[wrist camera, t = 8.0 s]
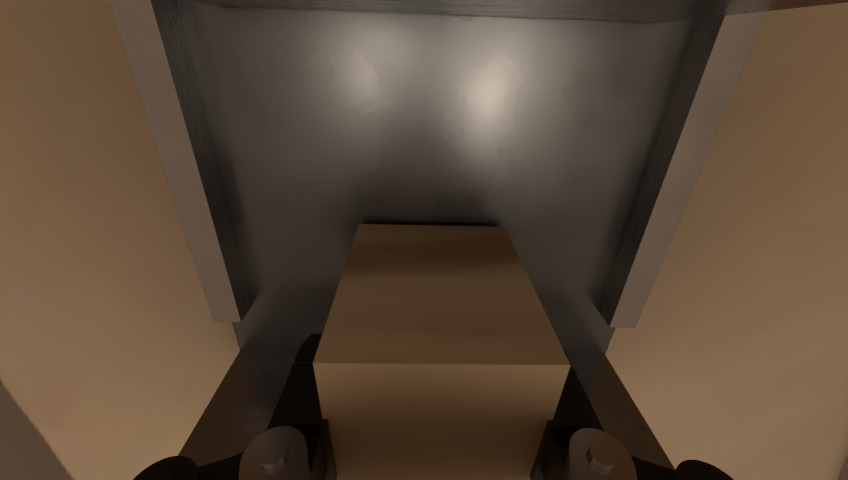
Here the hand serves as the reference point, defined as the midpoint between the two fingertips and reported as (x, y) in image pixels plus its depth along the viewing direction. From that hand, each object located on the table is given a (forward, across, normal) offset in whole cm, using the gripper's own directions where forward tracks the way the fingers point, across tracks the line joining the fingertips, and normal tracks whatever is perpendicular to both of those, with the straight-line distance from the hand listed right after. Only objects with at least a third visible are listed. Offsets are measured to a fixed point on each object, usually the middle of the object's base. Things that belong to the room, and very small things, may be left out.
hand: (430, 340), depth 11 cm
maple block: (+3, 0, 0) cm, 3 cm away
